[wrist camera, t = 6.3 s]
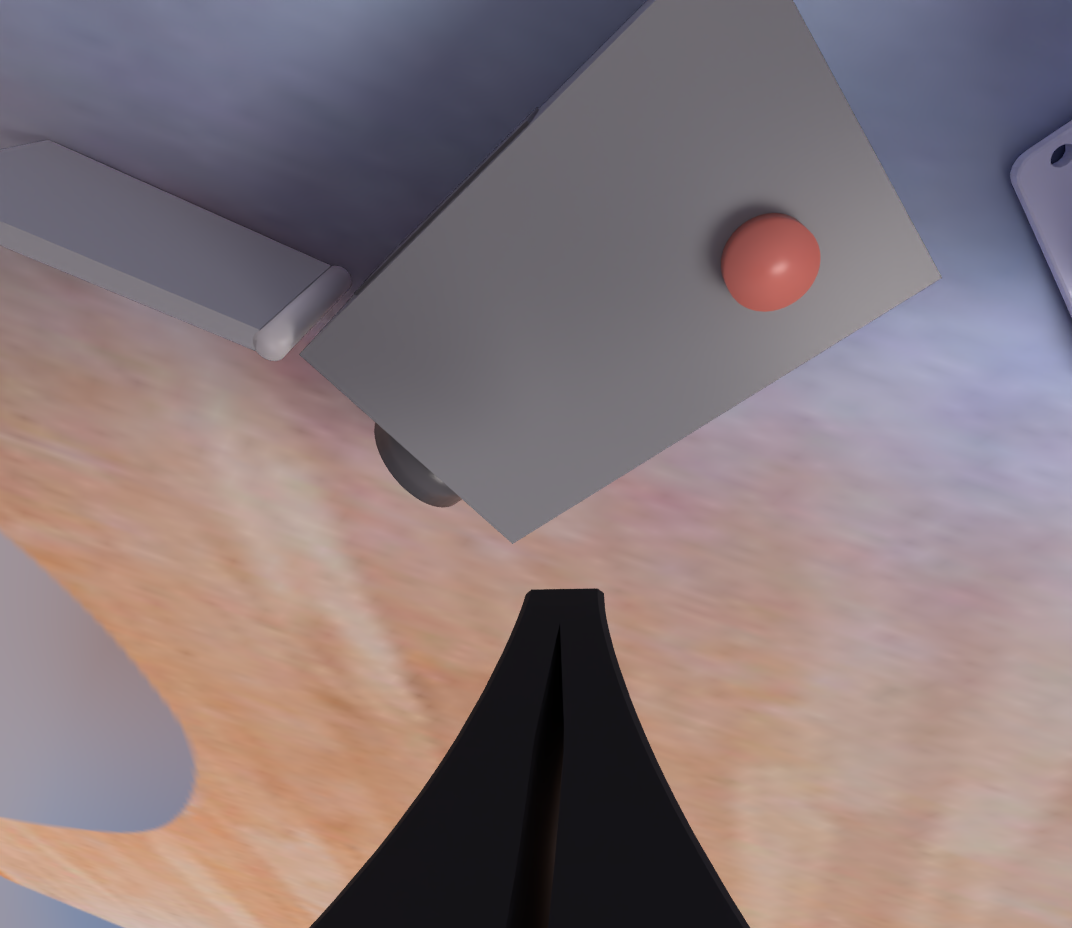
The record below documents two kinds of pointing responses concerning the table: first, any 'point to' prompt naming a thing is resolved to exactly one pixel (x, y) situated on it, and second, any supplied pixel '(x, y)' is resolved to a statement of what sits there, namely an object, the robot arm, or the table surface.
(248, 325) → the side door
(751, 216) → the camera body
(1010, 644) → the table surface
